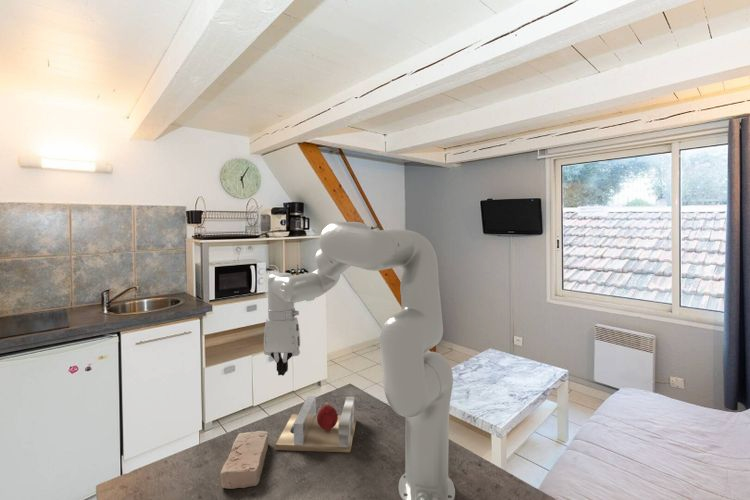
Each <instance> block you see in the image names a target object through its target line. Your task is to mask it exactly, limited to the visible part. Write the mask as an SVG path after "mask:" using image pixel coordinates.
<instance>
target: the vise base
mask: <svg viewBox="0 0 750 500" xmlns="http://www.w3.org/2000/svg"><path fill="white" fill-rule="evenodd" d="M355 400H356V399H355V396H346V397H345V400H344V405H343V408H342V411H341V414H340V415H338V414H337V415H338V420H337V423H336V425H335V426H334V427H333V428H332V429H330V430H324V429H323V428H321V427H320V425H319V424H318V422H317V415H318V414H316V416H315V418H314V421H313V423H312V426H311V428H310V430H309V433H308V435H307V438H306V440H305V442H304V445H294V433H291V432H290V430H291V428H292V426H293V424H294V422H295V420H296V418H297V416H298V414H299V413H297V414H296V413H292V414H291V415H290V418H289V419H288V421H287V423H286V425H285V426H284V428H283V431H281V434H280V435H279V437H278V439H277V441H276V443H275V451H293V452H294V451H295V452H296V451H297V452H298V451H299V452H329V453H351V450H352V444H353V440H354V435H355V430H356V425H357V415H356V407H355V406H356V405H355V403H356V401H355Z"/></svg>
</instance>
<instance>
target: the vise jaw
mask: <svg viewBox="0 0 750 500" xmlns="http://www.w3.org/2000/svg"><path fill="white" fill-rule="evenodd" d="M316 401H317V397H316V395H307V396H306V398H305V401H304V402H303V405H302V406H301V408H300V411H299V413H297V414H298V416H297V418H296V420H295V422H294V424H293V426H292V428H291V430H290V432H291V433H294V445H304V442H305V440H306V438H307V435H308V433H309V430H310V428H311V426H312V423H313V421H314V418H315V416H316V415H317V402H316Z"/></svg>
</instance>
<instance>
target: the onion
mask: <svg viewBox="0 0 750 500" xmlns="http://www.w3.org/2000/svg"><path fill="white" fill-rule="evenodd" d="M316 415H317V422H318V424H319V425H320V427H321V428H323V429H324V430H330V429H332V428H333V427H334V426H335V425H336V423H337V420H338V412H337V410H336V408H334V406H332V405H330V404H329V403H328V402H325V404H324V406H322V407H321V408H320V410H318V412H317V414H316Z"/></svg>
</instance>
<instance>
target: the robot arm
mask: <svg viewBox="0 0 750 500" xmlns="http://www.w3.org/2000/svg"><path fill="white" fill-rule="evenodd" d="M318 245H319V249H318V250H317V252H316V253H315V254H314V255H315V256H314V261H315V266H316V267H317V269H316V270H314V271H312V272H309V273H308V272H306V273H302V274H301V273H300V274H296V275H293V274H292V273H289V272H276V273H275V272H274V273H270V274H269V275H268V277H267V304H268V305H267V313H268V317H267V318H266V321H265V324H264V325H265V326H264V331H263V333H264V334H263V349H264V350H263V354H264V355H266V356H270V357H272V359H273V360H274V362H275V363H276V372H278V373H277V375H278V376H285V374H286V373H287V372H288V370H289V360H290V359H291V358H292V357H297V356H298V357H299V355H300V354H301V351H300V347H301V334H300V325H299V321H298V320H299V319H298V317H296V316H300V311H299V310H296V308H295V304H296V303H300V302H303V301H307V300H312V299H316V298H319V297H321V296H323V295H324V294H326V293H327V292H329V291H330V290H331V289H333V288H334V287H335V286H337V284H338V282H339V280H340V277H341V274H343V273H344V272H345V271H346V270H347V269H349V268H350V267H351V266H352V267H354V268H360V269H362V270H366V271H367V270H368V271H374V272H375V271H376V272H378V271H385V270H388V269H389V270H390V269H395V268H398V267H399V268H402V270H403V272H402V275H401V279H400V284H399V285H400V291H399V292H400V299H401V300H400V301H401V310H400V312H397V313H395V314H393V315H391V316H390V317H389V318H387V319H386V320H385V322H384V324H383V325H382V327H381V330H380V334H379V335H380V336H379V351H380V361H381V372H382V384H383V391H384V394H385V398H386V400H387V403H388V405H389V406H390V408H391V409H392V410H393V411H394V412H395V414H397V415H399V416H401V417H404V418H405V429H404V430H405V431H404V432H405V434H404V435H405V450H404V453H405V455H404V456H405V457H404V458H405V459H404V460H405V462H404V463H405V465H404V467H405V469H404V471H405V472H404V473H403V474H402V475H401V477H400V479H399V481H398V494H399V497H400V499H401V500H455V498H456V488H455V485H454V482H453V480H452V479H451V478H450V477H449V443H450V442H449V441H450V440H449V439H450V438H449V435H450V434H449V431H450V409H451V407H450V406H451V397H452V392H453V384H454V375H453V369H452V367H451V364H450V363H449V361H448V359H447V358H446V357H445V356H443V355H442V354H441V353H439V352H436V351H430V350H432V349H433V348H434V347H435V346H437V344H439V343H440V342H441V340H442V339H443V334H444V324H443V314H442V313H443V312H442V303H441V293H440V284H439V280H440V279H439V267H438V265H439V262H438V259H437V258H438V257H437V254H436V251H435V249H434V247H433V245H432V243H431V242H430V241H429V240H428V239H427V238H426V237H425V236H424V235H422V234H421V233H419V232H416V231H413V230H408V229H401V228H400V229H399V228H398V229H380V230H375V229H372V228H371V227H370V226H369V225H367V224H365V223H363V222H360V221H336V222H331V223H329V224H327V226H325V227H324V228H323V229H322V231H321V233H320V235H319V239H318ZM282 354H283V355H282Z"/></svg>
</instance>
